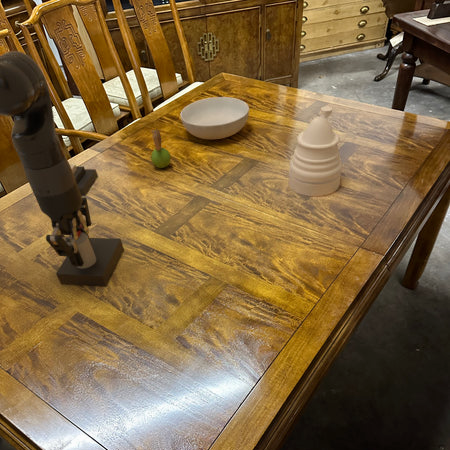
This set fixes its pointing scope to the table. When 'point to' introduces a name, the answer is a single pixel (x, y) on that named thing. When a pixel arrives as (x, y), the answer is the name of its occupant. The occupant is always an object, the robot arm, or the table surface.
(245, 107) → the serving bowl
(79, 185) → the key block
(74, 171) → the key
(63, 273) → the panel
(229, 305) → the table surface
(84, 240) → the volume knob
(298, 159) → the honey pot
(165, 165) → the green ball with handle
